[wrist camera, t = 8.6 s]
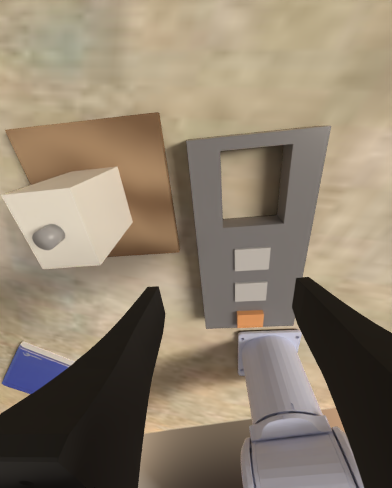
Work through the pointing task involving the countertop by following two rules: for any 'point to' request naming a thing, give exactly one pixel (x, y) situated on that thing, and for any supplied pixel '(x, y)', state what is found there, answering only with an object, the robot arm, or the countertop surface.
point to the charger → (72, 217)
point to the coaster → (110, 155)
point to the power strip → (255, 229)
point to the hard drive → (34, 368)
